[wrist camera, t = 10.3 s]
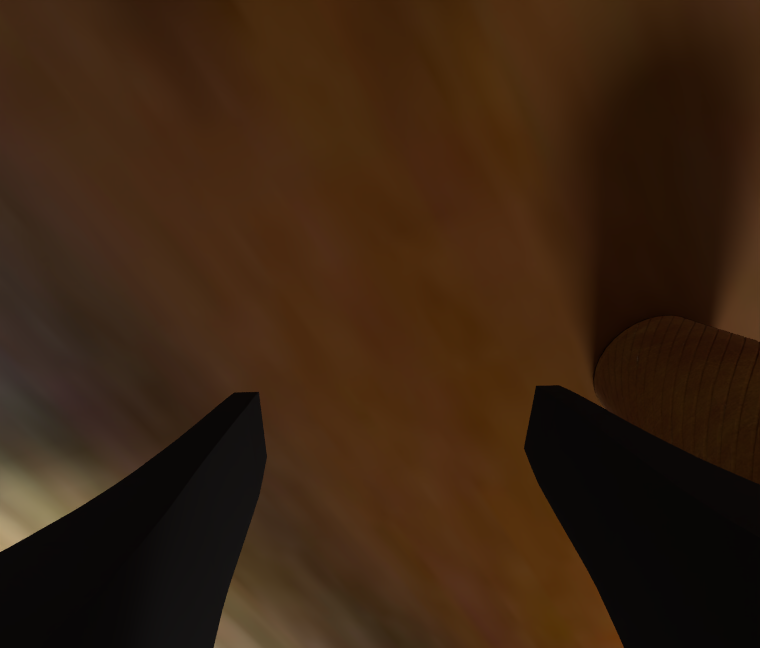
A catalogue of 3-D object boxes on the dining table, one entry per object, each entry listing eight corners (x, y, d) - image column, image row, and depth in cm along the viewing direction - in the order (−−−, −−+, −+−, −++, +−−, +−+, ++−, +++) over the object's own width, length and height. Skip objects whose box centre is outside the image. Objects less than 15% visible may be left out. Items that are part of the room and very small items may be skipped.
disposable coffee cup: (538, 425, 22) (718, 683, 11) (611, 267, 19) (976, 415, 8) (680, 448, 24) (964, 699, 13) (773, 305, 20) (1275, 477, 9)
